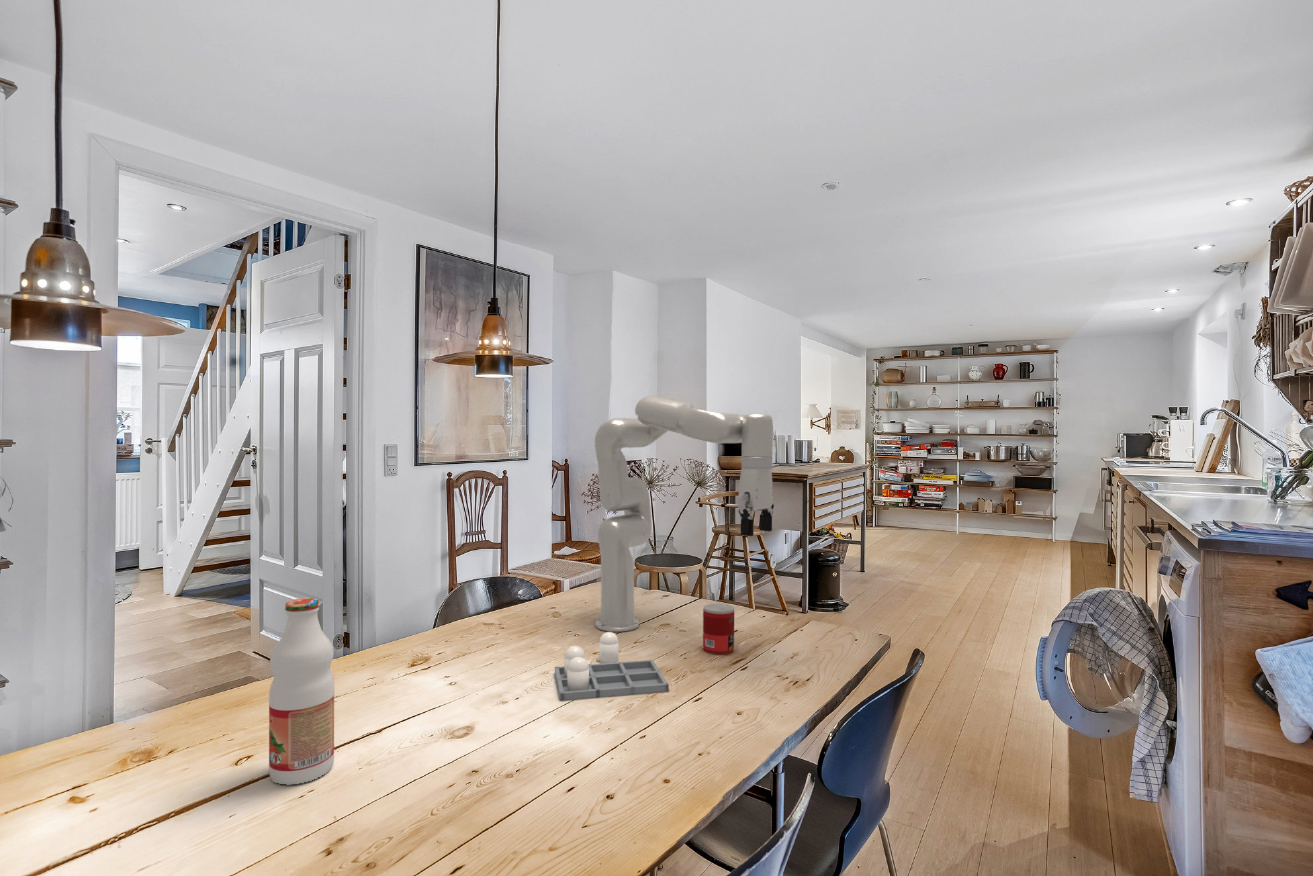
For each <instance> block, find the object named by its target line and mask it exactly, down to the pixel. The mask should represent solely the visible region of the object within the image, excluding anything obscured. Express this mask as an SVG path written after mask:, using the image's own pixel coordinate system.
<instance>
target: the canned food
mask: <svg viewBox="0 0 1313 876" xmlns="http://www.w3.org/2000/svg"><path fill="white" fill-rule="evenodd" d="M702 609H703V610H702V612H703V613H702V628H703V629H702V647H703V650H704V651H705V652H707V653H708V654H712V655H727V654H730V653H731V654H732V652H734V649H735V607H734V606H732V605H729V604H725V603H710V604H706V605H703V608H702Z"/></svg>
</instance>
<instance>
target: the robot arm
mask: <svg viewBox="0 0 1313 876" xmlns="http://www.w3.org/2000/svg"><path fill="white" fill-rule="evenodd" d="M634 412H635V417H636V418H633V417H632V418H630V417H616V418H611V419H607V420H606V421H604V422H603V423H602V424H600V426H599V428H597V431H596V432H595V433H596V434H595V436H594V450H595V455H596V459H597V460H596V461H597V466H598V467H597V469H598V472H597V473H598V483H599V486H598V487H599V497H600V503H601V506H602V507H603V509H605V510H606V511H608V512H622V511H623V513H624V514H623V515H616V516H611V517H608V518H606V519H604V520H603V521H602V522H601V523H600V525H599V526H598V530H597V540H598V545H599V552H600V574H601V575H600V576H601V578H600V580H601V581H600V598H601V599H600V618H598V619H597V620H596V621H595V628H597V629H598V630H601V631H605V632H612V633H615V632H616V633H619V632H620V633H621V632H628V631H632V630H636V629H638V627H640V620H639V619H637V618H636V617H635V565H634V564H635V562H634V559H633V556H632V553H631V551H630V548H634V547H638V546H642V545H643V544H646V543H647V542H648V541H649V539H650V537H651V534H652V515H651V513H652V512H651V502H650V501H651V500H650V493H649V489H648V487H647V485H646V484H645V482H644V481H643V480H642V479H640V478H638V477H632V476H631V477H629V472H628V471H629V470H628V469H629V468H628V462H627V459H626V456H625V455H624V453H623V451H622V449H623V448H626V449H627V448H629V449H631V448H645V447H648V446H650V445H651V444H653V443H654V442H655V441H657V440H658V439H659V438H661V437H663V435H665V434H667V432H671V433H676V434H680V435H683V436H685V437H689V438H691V439H694V440H700V441H704V442H708V443H711V444H712V443H713V444H740V443H741V469H740V470H741V471H740V475H739V477H740V478H739V482H738V483H739V484H738V486H739V487H738V500H737V507H738V513H739V519H740V535H741V536H746V537H753V536H754V522H755V521H754V519H753V516H754V514H755V512H757V511H759V512H760V514H759V530H760V531H762V532H772V531H773V515H774V511H773V510H774V507H775V506H774V504H775V498H776V497H775V496H774V494H773V493H774V490H773V485H774V484H773V474H772V471H773V459H774V458H773V455H774V453H773V450H774V449H773V442H774V441H773V438H774V437H773V436H774V435H773V434H774V433H773V432H774V431H773V430H774V428H773V426H774V425H773V424H774V423H773V417H772V416H771V415H770V414H766V413H748V414H739V413H727V412H714V411H710V410H709V411H708V410H703V409H698V408H695V407H694V406H693V405H692V403H690V402H687V401H686V402H684V401H680V400H675V398H672V397H669V396H657V395H649V396H645V397H643V398H641V399H639V400H638V402H637V403H636V405H635V409H634Z"/></svg>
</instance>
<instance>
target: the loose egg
mask: <svg viewBox="0 0 1313 876" xmlns="http://www.w3.org/2000/svg"><path fill="white" fill-rule="evenodd" d="M598 647H599V658H598V659H599V662H600V664H602V663H615V662H619V638H618V635H617V634H616V633H615V632H611V631H605V632H604V633H603V634H602V635H601V636H600V638H599V646H598Z"/></svg>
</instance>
